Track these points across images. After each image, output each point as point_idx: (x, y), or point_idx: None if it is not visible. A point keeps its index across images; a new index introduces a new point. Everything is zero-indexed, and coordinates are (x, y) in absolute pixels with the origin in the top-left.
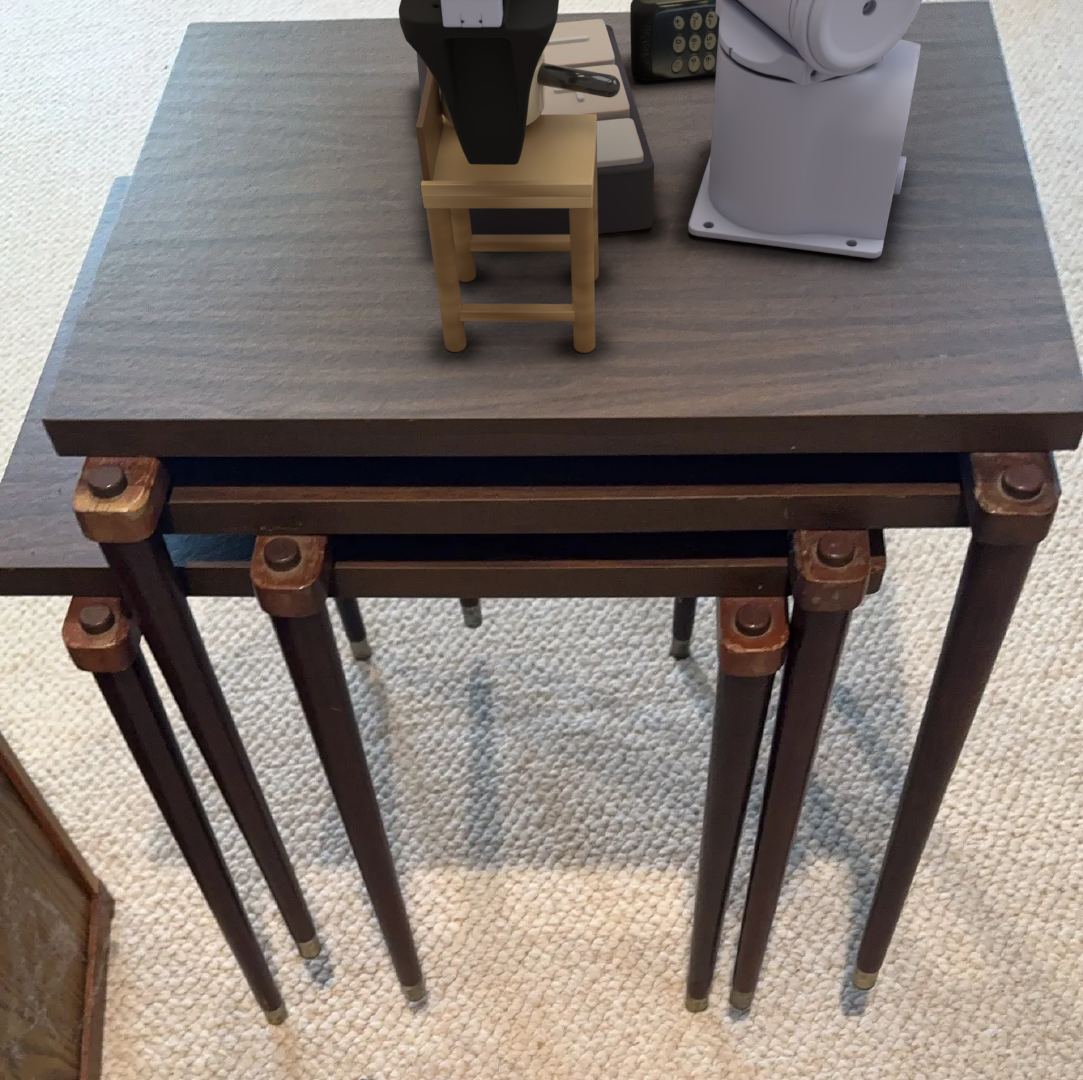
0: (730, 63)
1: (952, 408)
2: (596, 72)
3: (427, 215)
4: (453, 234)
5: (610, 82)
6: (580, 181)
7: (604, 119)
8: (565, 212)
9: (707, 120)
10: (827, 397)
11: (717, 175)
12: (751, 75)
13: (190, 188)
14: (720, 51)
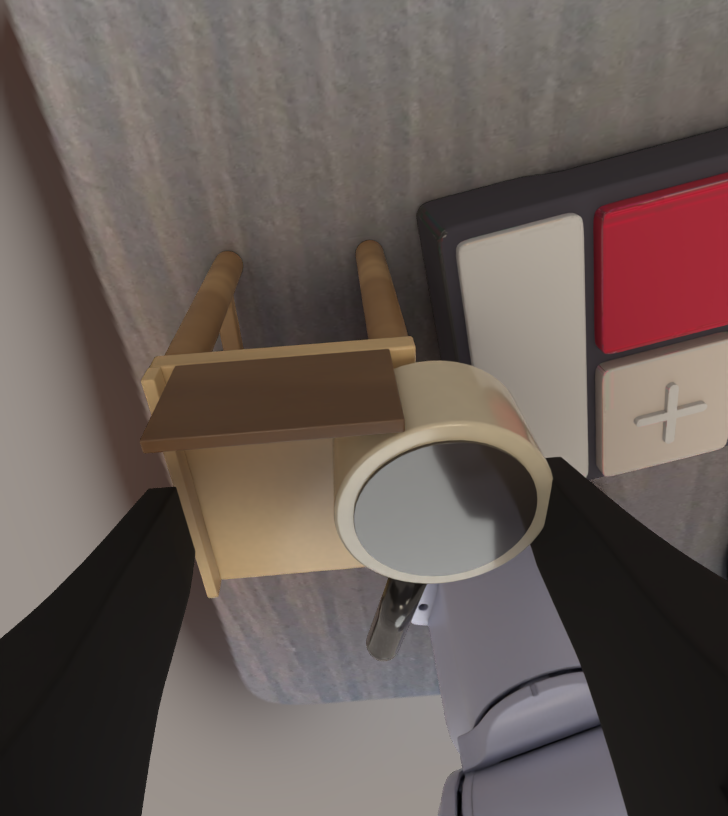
0: (527, 676)
1: (234, 654)
2: (397, 642)
3: (173, 345)
4: (362, 272)
5: (372, 656)
6: (211, 586)
7: (596, 444)
8: None
9: (662, 482)
10: (227, 589)
11: None
12: (496, 693)
13: None
14: (558, 665)
